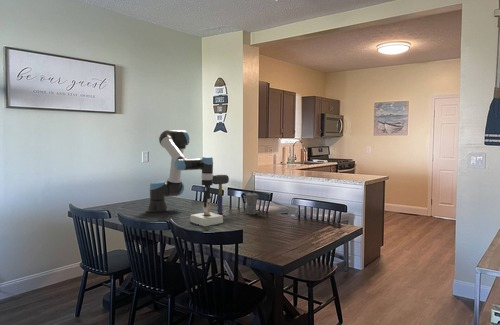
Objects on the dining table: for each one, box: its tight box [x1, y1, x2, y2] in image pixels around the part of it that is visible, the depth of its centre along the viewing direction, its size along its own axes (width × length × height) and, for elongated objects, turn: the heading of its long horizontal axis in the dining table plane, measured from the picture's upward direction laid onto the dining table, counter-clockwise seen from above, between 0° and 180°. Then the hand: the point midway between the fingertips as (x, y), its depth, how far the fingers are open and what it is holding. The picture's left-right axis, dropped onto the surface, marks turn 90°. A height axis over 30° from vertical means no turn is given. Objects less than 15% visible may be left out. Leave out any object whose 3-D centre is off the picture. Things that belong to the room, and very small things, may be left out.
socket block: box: [189, 211, 224, 227], centre depth 256 cm, size 16×16×5 cm
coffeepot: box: [240, 190, 260, 215], centre depth 289 cm, size 15×9×18 cm, turn 65°
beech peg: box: [203, 201, 211, 216], centre depth 256 cm, size 4×4×14 cm
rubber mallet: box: [212, 174, 230, 214], centre depth 287 cm, size 12×8×30 cm, turn 129°
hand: (206, 209), depth 256 cm, fingers open, 13 cm apart
